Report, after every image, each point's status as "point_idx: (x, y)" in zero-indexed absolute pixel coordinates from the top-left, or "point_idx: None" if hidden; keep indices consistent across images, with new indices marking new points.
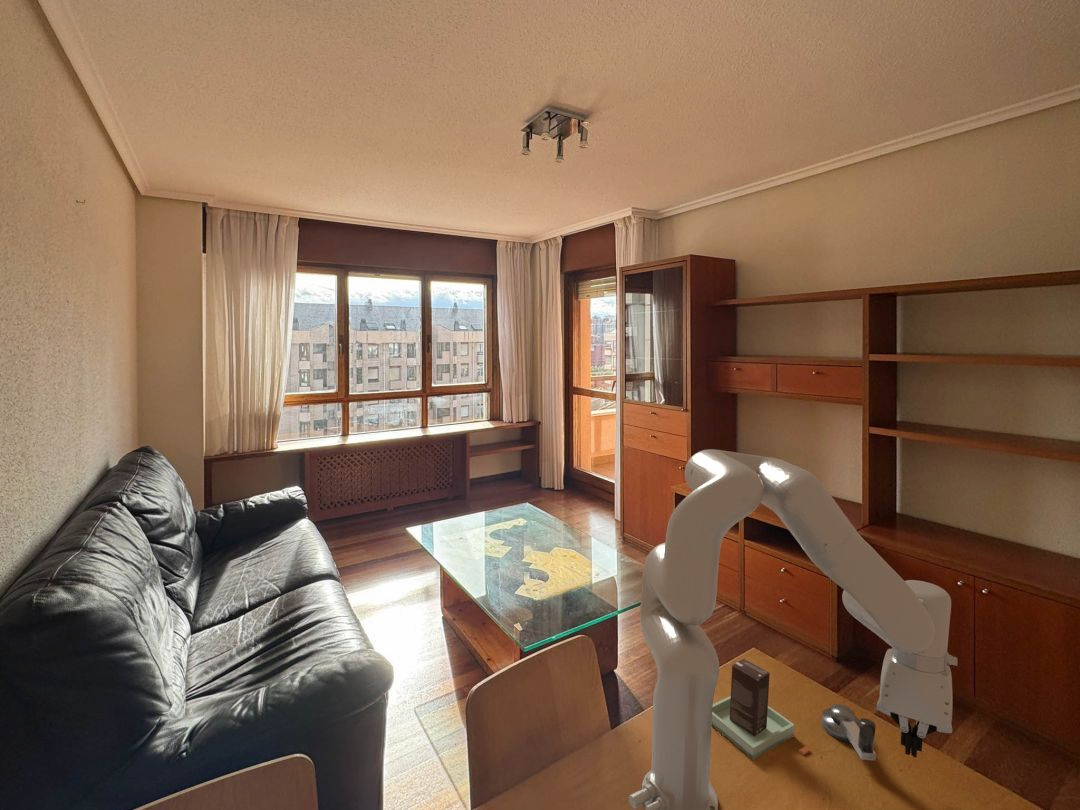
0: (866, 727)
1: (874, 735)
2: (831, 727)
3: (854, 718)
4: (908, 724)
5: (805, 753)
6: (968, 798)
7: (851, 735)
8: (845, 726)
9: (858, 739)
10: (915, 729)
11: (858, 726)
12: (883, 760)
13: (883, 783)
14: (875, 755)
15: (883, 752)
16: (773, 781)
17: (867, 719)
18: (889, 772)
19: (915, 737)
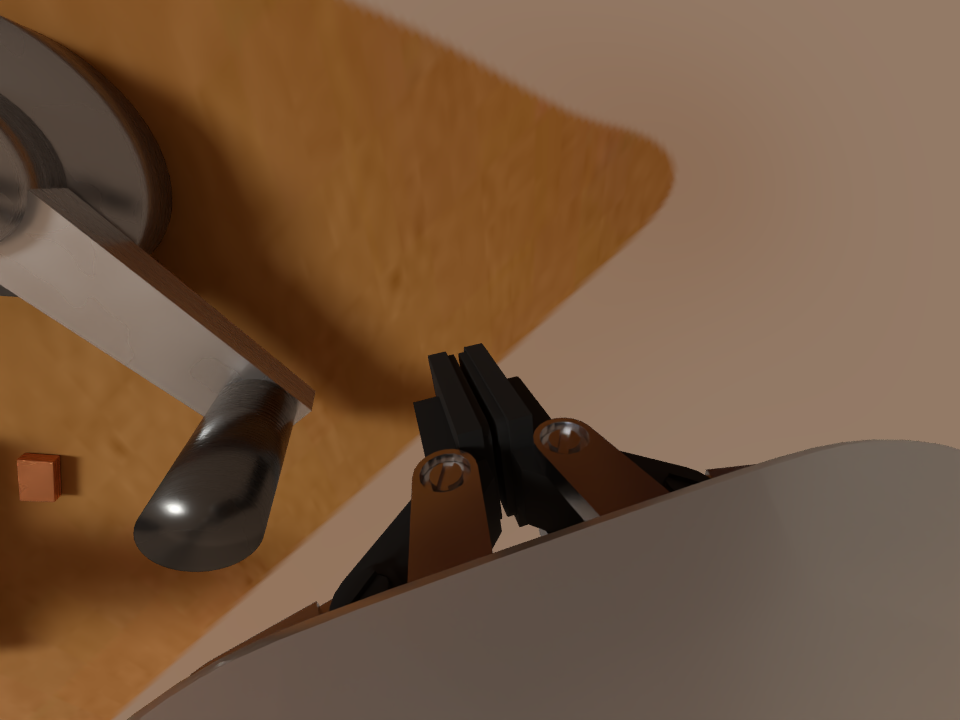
0: (219, 564)
1: (277, 475)
2: None
3: (12, 62)
4: (488, 521)
5: (56, 489)
6: (599, 255)
7: (144, 376)
8: (56, 319)
9: (193, 379)
10: (534, 520)
11: (101, 155)
12: (324, 270)
13: (365, 397)
14: (310, 405)
15: (304, 210)
16: (92, 647)
17: (174, 499)
18: (365, 326)
19: (524, 525)
